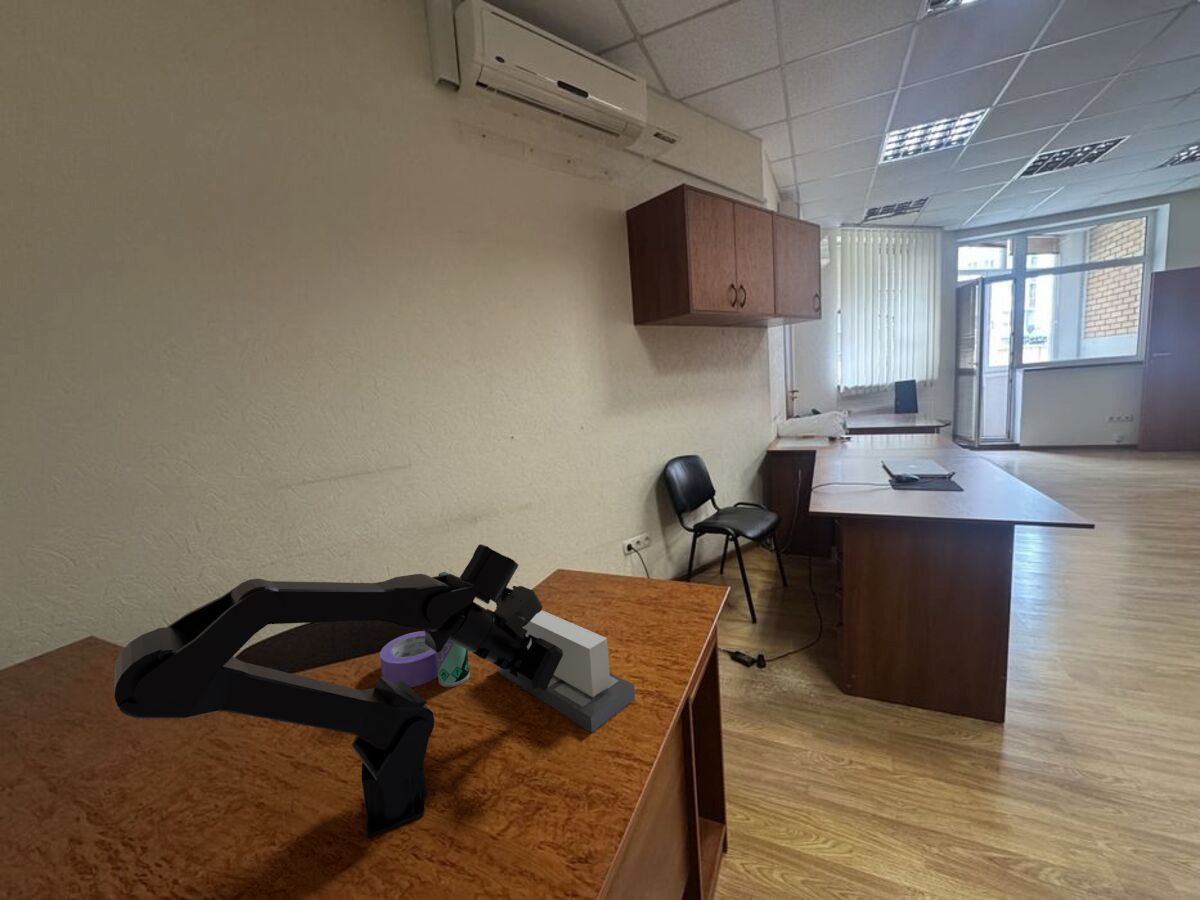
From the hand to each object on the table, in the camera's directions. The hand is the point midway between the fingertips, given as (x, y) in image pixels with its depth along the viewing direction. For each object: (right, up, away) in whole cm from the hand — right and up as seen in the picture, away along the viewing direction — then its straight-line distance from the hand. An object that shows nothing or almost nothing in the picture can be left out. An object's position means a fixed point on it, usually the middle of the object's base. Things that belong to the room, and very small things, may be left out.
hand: (543, 666), depth 75 cm
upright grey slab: (+2, -3, +7) cm, 7 cm away
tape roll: (-26, -7, +14) cm, 31 cm away
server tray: (+2, -6, +6) cm, 9 cm away
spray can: (-18, -7, +10) cm, 22 cm away
